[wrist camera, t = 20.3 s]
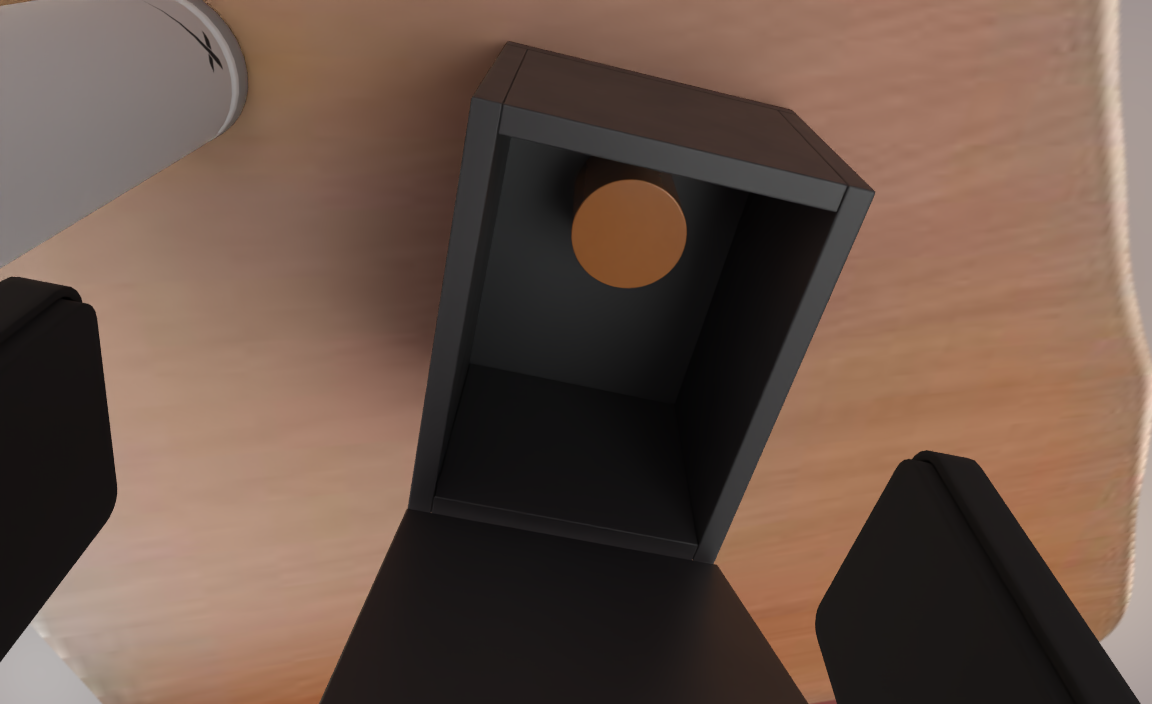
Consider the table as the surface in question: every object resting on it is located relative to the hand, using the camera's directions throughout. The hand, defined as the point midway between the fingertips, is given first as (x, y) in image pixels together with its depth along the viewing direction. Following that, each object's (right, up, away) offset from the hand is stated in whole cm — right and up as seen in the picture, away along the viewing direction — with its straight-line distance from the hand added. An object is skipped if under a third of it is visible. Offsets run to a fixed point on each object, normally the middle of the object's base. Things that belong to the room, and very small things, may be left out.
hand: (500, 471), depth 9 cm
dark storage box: (+2, +6, +27) cm, 27 cm away
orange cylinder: (+3, +8, +24) cm, 26 cm away
